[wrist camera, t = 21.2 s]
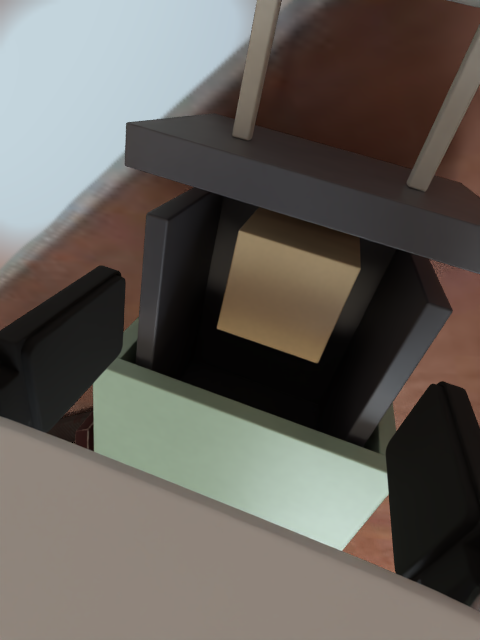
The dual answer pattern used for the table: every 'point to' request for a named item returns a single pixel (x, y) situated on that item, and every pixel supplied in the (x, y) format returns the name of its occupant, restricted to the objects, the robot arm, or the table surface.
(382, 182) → the drawer
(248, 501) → the cabinet
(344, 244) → the block
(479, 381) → the table surface
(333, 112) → the table surface
